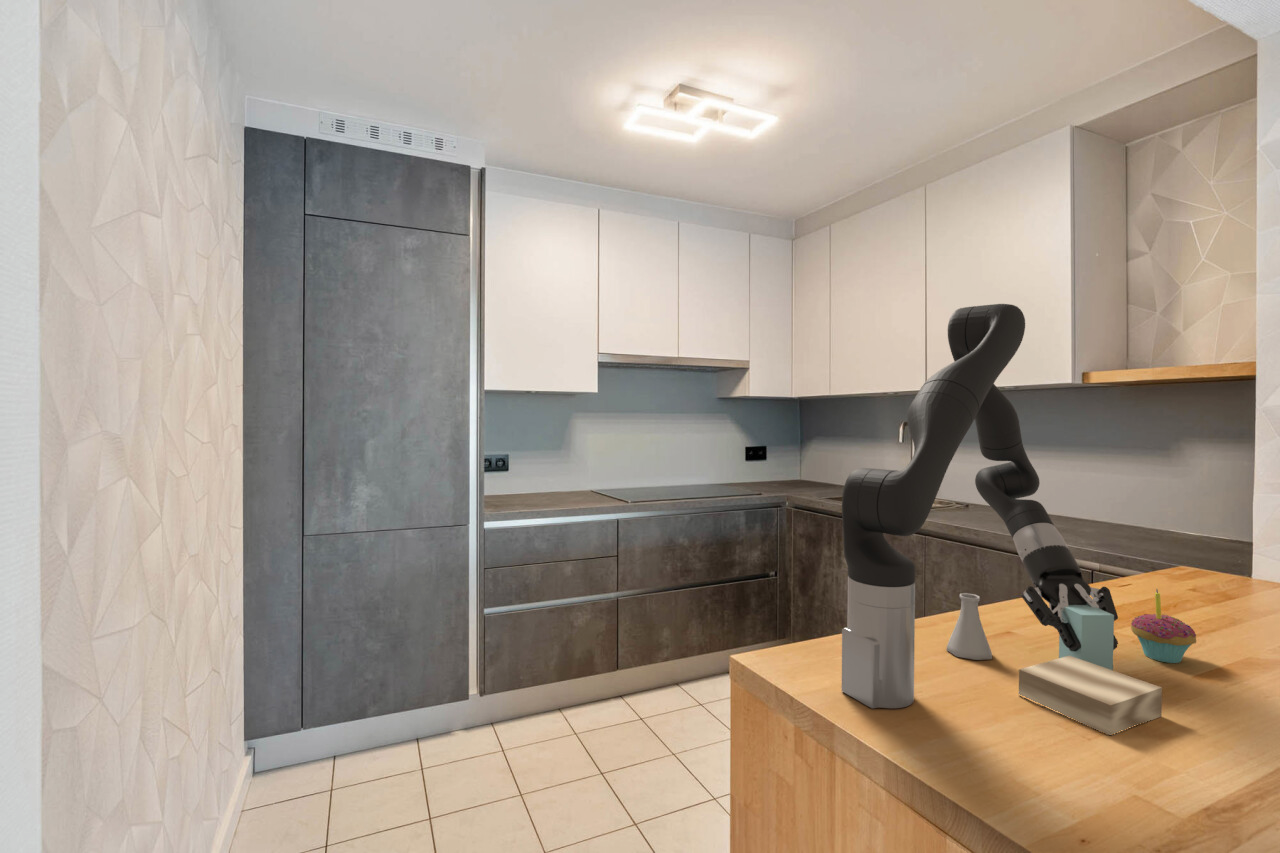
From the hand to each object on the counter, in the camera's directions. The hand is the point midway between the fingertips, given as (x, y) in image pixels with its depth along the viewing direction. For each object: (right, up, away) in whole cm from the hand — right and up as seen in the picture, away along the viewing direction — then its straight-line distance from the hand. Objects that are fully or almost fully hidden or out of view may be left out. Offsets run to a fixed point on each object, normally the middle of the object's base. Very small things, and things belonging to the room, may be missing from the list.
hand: (1094, 648), depth 96 cm
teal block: (0, -4, +2) cm, 5 cm away
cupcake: (+17, -4, +8) cm, 19 cm away
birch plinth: (-8, -5, -9) cm, 13 cm away
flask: (-15, -4, +10) cm, 18 cm away
